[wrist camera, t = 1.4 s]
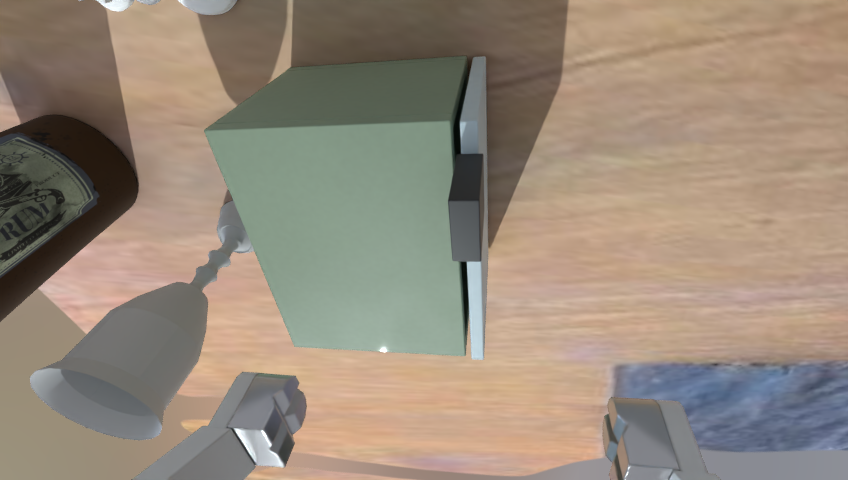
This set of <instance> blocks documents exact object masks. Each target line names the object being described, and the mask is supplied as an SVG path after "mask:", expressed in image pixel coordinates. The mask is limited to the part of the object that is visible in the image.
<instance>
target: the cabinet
mask: <svg viewBox="0 0 848 480" xmlns="http://www.w3.org/2000/svg"><path fill="white" fill-rule="evenodd" d="M467 85H468V72H467V56H456V57H441V58H426V59H411V60H396V61H381V62H366V63H351V64H336V65H321V66H306V67H291V68H289V69H288V70H286V72H284V73H283V74H281V75H280V76H279V77H277V78H276V79H274V80H273V81H272V82H270V83H269V84H267V85H266V86H265V87H263V88H262V89H261V90H259V91H258V92H256V93H255V94H254V95H252V96H251V97H249V98H248V99H247V100H245V101H244V102H243V103H241V104H240V105H238V106H237V107H236V108H234V109H233V110H231V111H230V112H229V113H227V114H226V115H225V116H223V117H222V118H220V119H219V120H218V121H216V122H215V123H213V124H212V125H210V126H209V127H208V128H206V129H205V130H204V132H205V134H206V137H207V139H208V141H209V144H210V146H211V149H212V151H213V153H214V156H215V158H216V161H217V163H218V165H219V168H220V170H221V172H222V175H223V177H224V180H225V182H226V184H227V187H228V189H229V192H230V194H231V196H232V199H233V201H234V203H235V206H236V208H237V211H238V213H239V215H240V218H241V220H242V223H243V225H244V227H245V230H246V232H247V234H248V237H249V239H250V242H251V244H252V246H253V249H254V251H255V254H256V256H257V258H258V261H259V263H260V265H261V268H262V270H263V273H264V275H265V277H266V280H267V282H268V285H269V287H270V289H271V292H272V294H273V296H274V299H275V301H276V304H277V306H278V308H279V311H280V313H281V315H282V318H283V320H284V323H285V325H286V327H287V330H288V332H289V335H290V337H291V339H292V342H293V344H294V346H295V347H307V348H325V349H343V350H361V351H379V352H397V353H415V354H433V355H451V356H465V355H466V345H467V333H468V321H469V297H468V277H467V262H464V261H453V260H452V249H451V236H450V222H449V209H448V197H449V192H450V187H451V182H452V177H453V171H454V166H455V161H456V156H457V154H461V139H460V118H461V114H462V109H463V104H464V99H465V94H466V90H467Z"/></svg>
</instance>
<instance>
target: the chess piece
mask: <svg viewBox="0 0 848 480" xmlns="http://www.w3.org/2000/svg"><path fill="white" fill-rule="evenodd" d="M79 1H82V0H79ZM97 1H98V2H99V3H101V4H102V5H103V6H104V7H106V8H108V9H110V10H113V11H124V10H126V9H127V8H128V7H130V6H131V4H132V3H133V1H134V0H97ZM137 1H138V2H141V3H144V4H148V5H153V4H156V3H158V2H159V1H160V0H137ZM178 1H179V2H180V3H182V4H183V5H184V6H185V7H187V8H188V9H190V10H192V11H194V12H196V13H199V14H203V15H219V14H223V13H225V12H227V11H229V10H230V9H231V8H232V7H233V6H234V5H235V3H236V2H237V0H178Z"/></svg>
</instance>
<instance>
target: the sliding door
mask: <svg viewBox="0 0 848 480" xmlns="http://www.w3.org/2000/svg"><path fill="white" fill-rule="evenodd" d="M460 139H461V154H457V156H456V161H455V166H454V171H453V177H452V182H451V187H450V192H449V197H448V209H449V222H450V236H451V249H452V260H453V261H464V262H467V277H468V297H469V317H470V336H471V356H472V359H479V360H483V359H484V348H485V324H486V300H487V277H488V188H487V105H486V57H485V56H483V57H473V61H472V66H471V70H470V75H469V80H468V85H467V90H466V94H465V99H464V104H463V109H462V114H461V118H460Z"/></svg>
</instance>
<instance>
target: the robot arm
mask: <svg viewBox="0 0 848 480" xmlns="http://www.w3.org/2000/svg"><path fill="white" fill-rule="evenodd" d="M298 385H299V382H298V380H297V378H296V376H290V375H277V374H264V373H254V372H242V373H241V374H240V375H238V376H237V377H236V379H235V381H234V382H233V384H232V386H231V388H230V389H229V391H228V393H227V394H226V396H225V398H224V400H223V401H222V403H221V405H220V406H219V408H218V410H217V411H216V413H215V415H214V416H213V418H212V420H211V421H210V423H209V425H208V426H202V427H201V428H199V429H198V430H197V431H195V432H194V433H193V434H191V435H190V436H189V437H188V438H186V439H185V440H183V441H182V442H181V443H179V444H178V445H177V446H176V447H174V448H173V449H171V450H170V451H169V452H167V453H166V454H165V455H164V456H162V457H161V458H160V459H158V460H157V461H156V462H154V463H153V464H152V465H150V466H149V467H148V468H146V469H145V470H144V471H142V472H141V473H140V474H138V475H137V476H136V477H134V478H133V479H132V480H244V479H245V478H246V477H247V476H248V475H249V474H250V473H251V472H252V470H254V468H255V465H259V466H272V467H285V466H286V464H287V461H288V459H289V456H290V454H291V451H292V449H293V446H294V444H295V442H294V438H293V434H294V433H295V432H296V431H298V430H299V429H300V428H301V426H302V424H303V421H304V418H305V413H306V407H307V405H306V398H305V395H304V393H303V392H301V391H300V390H299V389H297V387H298ZM607 407H608V412H609V414H607V415H605V416H604V421H603V444H604V450H605V455H606V456H607V458H608V459H609V460H610V461H611V462H612V466H611V470H610V473H609V476H610V480H721V479H720V478H719V477H718V476H717V475H715V474H709V473H708V471H707V469H706V466H705V464H704V461H703V458H702V456H701V453H700V450H699V447H698V445H697V442H696V439H695V437H694V434H693V432H692V429H691V426H690V424H689V421H688V418H687V416H686V413H685V410H684V408H683V406H682V405H681V404H680V403H679V402H677V401H660V400H654V399H635V398H616V397H611V398H610V399H609V401H608V405H607Z"/></svg>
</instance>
